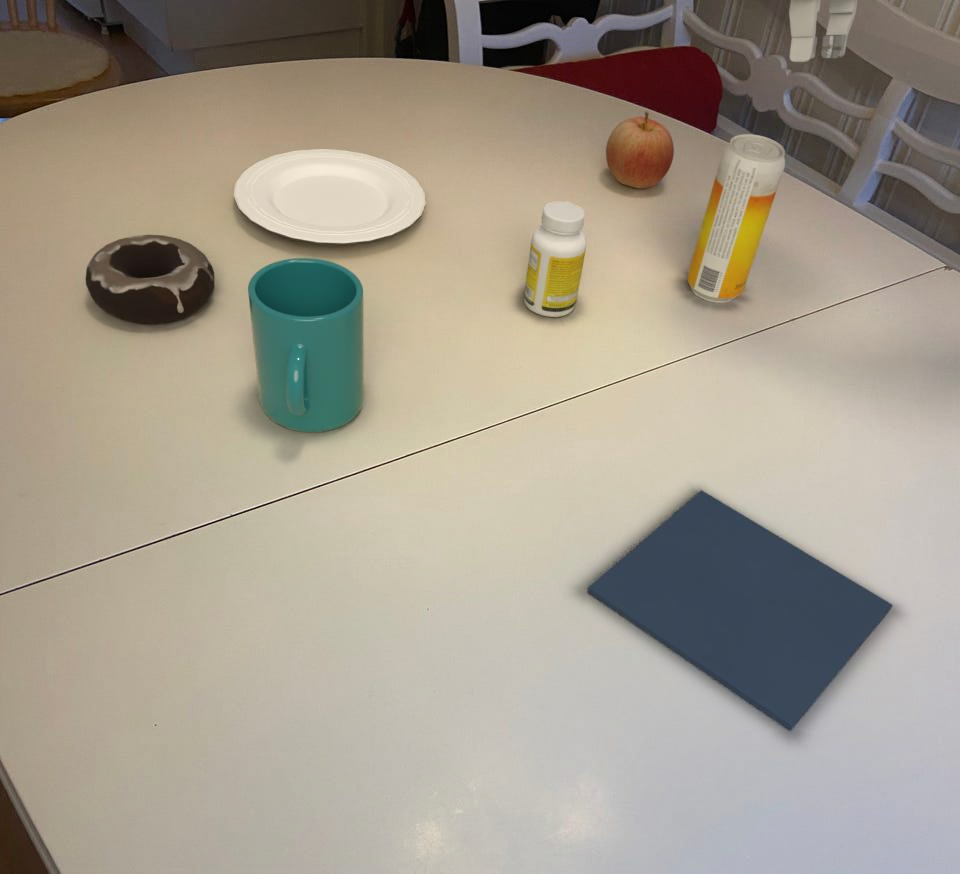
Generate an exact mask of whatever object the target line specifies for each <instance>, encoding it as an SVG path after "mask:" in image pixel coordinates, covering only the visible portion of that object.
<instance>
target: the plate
mask: <svg viewBox="0 0 960 874" xmlns="http://www.w3.org/2000/svg"><path fill="white" fill-rule="evenodd" d="M420 184H421V183H419V181H418V180H417V179H416V178H415V177H414V176H412V175H411V174H410V172H409V173H408V171H406V170H405V169H404V168H402V167H400V166H398V165H397V164H394V163H392V162H390V161H388V160H386V159H382V158H380V157H376V156H373V155H371V154H366V153H361V152H357V151H350V150H344V149H329V148H313V149H299V150H293V151H288V152H284V153H279V154H274V155H271V156H269V157H266V158H264V159H262V160H260V161H257V162H255V163H254V164H253V165H251V166H250V167H248V168H246V169H245V170H244V171H243V172H242V173H241V175H240V176H239V177H238V179H237V180H236V182H235V183H234V187H233V188H234V190H233V199H234V201H235V204H236V206H237V208H238V210H239V212H241V213H242V214H243V216H245V217H246V218H247V219H248V220H249V222H251V223H253V224H254V225H256V226H258V227H259V228H261V229H263V230H265V231H267V232H269V233H271V234H273V235H275V236H276V235H277V236H280V237H282V238H285V239H288V240H291V241H297V242H302V243H308V244H313V245H321V246H322V245H324V246H352V245H360V244H369V243H370V244H371V243H373V242H377V241H381V240H386V239H389V238H392V237H394V236H396V235H398V234H400V233H401V232H404V231H406V230H408V229H410V228H411V227H412V226H413V225H414V224H415V223H417V221H418V220H419V219H421V217H422V215H423V213H424V210H425V208H426V206H427V202H426V194H425V190H424V189H423V187H422V186H421V185H420Z"/></svg>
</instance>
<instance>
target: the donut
mask: <svg viewBox="0 0 960 874" xmlns="http://www.w3.org/2000/svg"><path fill="white" fill-rule="evenodd" d="M85 285H86V286H85V287H86V288H87V290H88V293H89V295H90V297H91V299H92V300H93V302H94V303H95V304H96V305H97V306H98V307H99V308H101V309H102V310H103V311H104V312H105V313H107V314H109V315H111V316H113V317H115V318H117V319H120V320H122V321H125V322H131V323H133V324H134V323H135V324H144V325H145V324H149V325H156V324H165V323H172V322H175V321H178V320H182V319H185V318H187V317H190V316H191V315H193V314H195V313H197V312H198V311H199V310H200V309H201V308H203V306H204V305H206V304H207V303H208V302H209V300H210V298H211V296H212V294H213V292H214V289H215V271H214V267H213V265H212V264H211V262H210V260H209V259H208V257H207V256H206V254H205V253H204V252H203V251H201V250H200V249H199V248H197V247H196V246H195V245H193V244H192V243H190V242H188V241H186V240H183V239H180V238H177V237H173V236H167V235H161V234H139V235H131V236H128V237H124V238H120V239H117V240H115V241H111V242H110V243H108V244H106V245H104V246H103V247H101V248H100V249H99V250H98V251H96V252H95V253H94V254H93V256H92V257H91V259H90V260H89V262H88V263H87V267H86V271H85Z"/></svg>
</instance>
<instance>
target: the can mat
mask: <svg viewBox="0 0 960 874" xmlns="http://www.w3.org/2000/svg"><path fill="white" fill-rule="evenodd" d="M587 594H589V595H590V596H592V597H594V598H595V599H596V600H598V601H600V602H601V603H603V604H604V605H606V606H607V607H608V608H609V609H611V610H612V611H614V612H616V613H617V614H619V615H620V616H621V617H623V618H624V619H626V620H627V621H629V622H630V623H631V624H633V625H635V626H636V627H638V628H639V629H641V630H642V631H644V632H645V633H646V634H648V635H649V636H650V637H652V638H654V639H655V640H657V642H659V643H661V644H662V645H664V646H666V648H668V649H670V650H671V651H672V652H674V653H676V654H677V655H679V656H680V657H682V658H683V659H684V660H686V661H688V662H689V663H691V664H692V665H693V666H695V667H696V668H697V669H699V670H701V671H702V672H704V673H705V674H707V675H708V676H710V677H711V678H713V679H714V680H715V681H717V682H718V683H720V684H721V685H723V686H724V687H726V688H727V689H728V690H730V691H731V692H733V693H734V694H736V695H737V696H739V697H740V698H742V699H743V700H744V701H746V702H747V703H749V704H750V705H752V706H753V707H755V708H756V709H758V710H759V711H761V712H762V713H764V714H765V715H767V716H768V717H770V718H771V719H772V720H774V721H775V722H777V723H778V724H781V726H783V727H784V728H786V729H787V730H789V731H792V730H793V729H794V727H796V725H797V724H798V722H800V721H801V719H802V717H803V716H804V715H805V714H806V713H807V712H808V710H809V709H810V708H811V707H812V706H813V704H814V703H815V702H816V700H818V698H819V697H820V696H821V695H822V693H823V692H825V690H826V689H827V687H828V686H829V685H830V684H831V683H832V681H833V680H834V679H835V677H836V676H837V675H839V673H840V671H842V669H843V668H844V667H845V665H846V664H847V663H848V662H849V660H851V658H852V657H853V656H854V654H855V653H856V652H857V651H858V649H860V647H861V646H862V645H863V643H864V642H866V640H867V639H868V638H869V636H870V635H871V634H872V632H874V630H875V629H876V628H877V626H878V625H879V624H880V623H881V622H882V620H883V619H885V617H886V615H887V614H888V613H889V612H890V611H891V609H892V608H893V604H892V603H890V602H888V601H886V600H885V599H884V598H882V597H881V596H879V595H877V594H875V593H874V592H872V591H870V590H869V589H867V588H866V587H863V586H862V585H860V584H859V583H857V582H856V581H854V580H852V579H851V578H849V577H847V576H845V575H844V574H842V573H840V572H839V571H837V570H835V569H834V568H833V567H830V566H828V565H827V564H825V563H824V562H822V561H821V560H819V559H817V558H815V557H813V556H812V555H810V554H809V553H807V552H805V551H803V550H802V549H801V548H799V547H797V546H795V545H793V544H792V543H790V542H789V541H787V540H785V539H783V538H782V537H780V536H779V535H777V534H776V533H774V532H772V531H770V530H769V529H767V528H766V527H764V526H762V525H760V524H758V523H757V522H756V521H754V520H752V519H750V518H749V517H747V516H745V515H744V514H742V513H740V512H739V511H737V510H736V509H733V508H732V507H730V506H729V505H727V504H725V503H724V502H722V501H721V500H719V499H717V498H715V497H713V496H712V495H710V494H709V493H707V492H705V491H704V490H701V489H700V491H699V492H698V493H696V494H695V495H694V496H692V497H691V498H690V499H689V500H688V501H687V502H686V503H684V505H682V506H681V507H680V508H679V509H677V510H676V511H675V512H674V513H673V514H672V515H671V516H670V517H668V518H667V519H666V520H665V521H664V522H663V523H661V524H660V525H659V526H658V527H657V528H656V529H654V530H653V531H652V532H651V533H650V534H649V535H648V536H647V537H645V538H644V539H643V540H642V541H641V542H639V543H638V544H637V545H636V546H634V548H632V549H631V550H630V551H629V552H628V553H627V554H626V555H624V556H623V557H621V559H620V560H619V561H618V562H616V563H615V564H614V565H613V566H611V568H609V569H608V570H607V571H606V572H605V573H604V574H603V575H601V576H600V577H599V578H598V579H597V580H595V581H594V582H593V583H592V584H591V585H590V586H588V588H587Z"/></svg>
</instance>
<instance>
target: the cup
mask: <svg viewBox="0 0 960 874" xmlns="http://www.w3.org/2000/svg"><path fill="white" fill-rule="evenodd" d="M247 295H248V304H249V314H250V315H249V316H250V324H251V331H252V332H251V333H252V340H253V341H252V342H253V352H254V363H255V371H256V381H257V388H258V389H257V391H258V398H259V403H260V406H261V408H262V410H263V412H264V414H265V415H267V417H268V418H270V419H271V421H273V422H275V423H276V424H278V425H280V426H282V427H284V428H286V429H290V430H293V431H297V432H303V433H304V432H305V433H322V432H328V431H332V430H335V429H338V428H340V427H343V426H345V425H346V424H348V423H349V422H351V421H352V420H354V419H355V417H356V416H358V414H359V413H360V411H361V410H362V407H363V404H364V394H365V393H364V392H365V390H364V389H365V388H364V387H365V386H364V385H365V383H364V382H365V381H364V380H365V379H364V372H365V370H364V369H365V368H364V367H365V366H364V361H365V360H364V357H365V356H364V355H365V354H364V353H365V351H364V348H365V347H364V286H363V284H362V282H361V280H360V279H359V277H358V275H356V274H355V273H354V272H352V271H351V270H350V269H348V268H347V267H344V266H343V265H341V264H338V263H336V262H333V261H329V260H327V259H326V260H325V259H320V258H313V257H312V258H311V257H296V258H295V257H294V258H288V259H287V258H286V259H282V260H278V261H275V262H271V263H270V264H267V265H265V266H263V267H262V268H260V269H258V270H257V271H256V272H255V273H254V274H253V275H252V277H251V278H250V280H249V282H248V285H247Z"/></svg>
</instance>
